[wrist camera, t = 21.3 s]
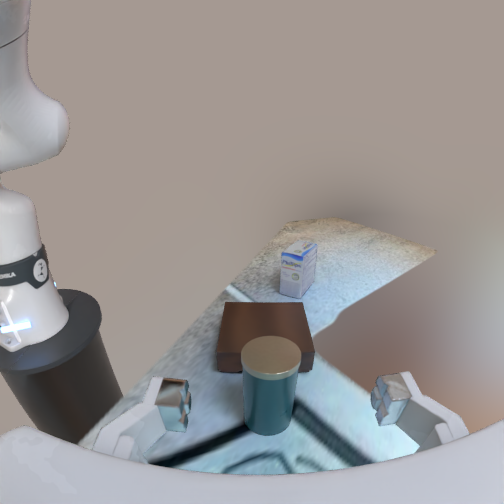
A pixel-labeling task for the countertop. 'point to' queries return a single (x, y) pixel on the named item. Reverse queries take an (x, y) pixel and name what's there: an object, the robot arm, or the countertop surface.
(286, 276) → the medicine box
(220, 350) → the walnut platform
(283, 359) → the teal canister
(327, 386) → the countertop surface
